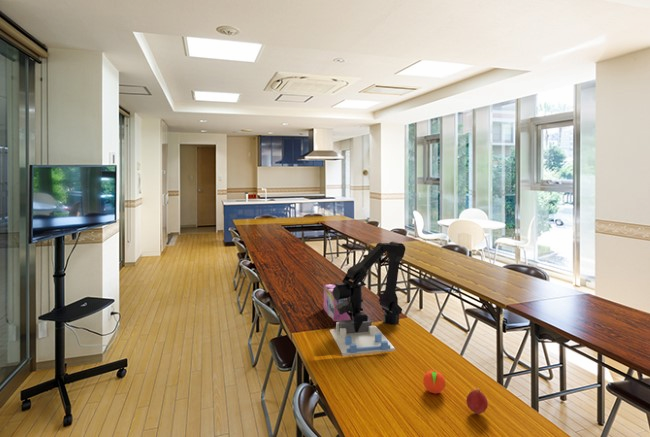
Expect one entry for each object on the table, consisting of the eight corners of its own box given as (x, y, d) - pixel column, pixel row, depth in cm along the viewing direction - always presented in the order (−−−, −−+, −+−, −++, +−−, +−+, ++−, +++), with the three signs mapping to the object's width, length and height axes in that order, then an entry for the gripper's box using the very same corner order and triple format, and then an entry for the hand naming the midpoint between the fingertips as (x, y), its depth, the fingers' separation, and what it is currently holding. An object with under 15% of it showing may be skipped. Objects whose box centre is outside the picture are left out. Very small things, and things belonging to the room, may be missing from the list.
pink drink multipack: (322, 307, 207) (322, 283, 205) (336, 306, 209) (336, 282, 207) (334, 324, 184) (334, 296, 182) (349, 322, 186) (349, 295, 184)
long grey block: (368, 328, 175) (368, 318, 175) (371, 331, 171) (371, 321, 171) (338, 330, 172) (338, 320, 172) (341, 334, 169) (341, 324, 168)
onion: (463, 414, 113) (464, 389, 112) (469, 405, 117) (470, 381, 117) (483, 422, 109) (485, 396, 108) (489, 412, 114) (490, 387, 113)
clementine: (445, 401, 120) (446, 379, 119) (422, 397, 122) (423, 376, 121) (444, 387, 128) (445, 367, 127) (423, 384, 129) (423, 364, 129)
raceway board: (375, 327, 179) (375, 319, 178) (395, 351, 154) (395, 341, 154) (329, 331, 174) (329, 322, 174) (342, 356, 150) (342, 346, 149)
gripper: (333, 291, 178) (333, 323, 179) (342, 304, 159) (342, 340, 161) (356, 289, 180) (356, 321, 182) (368, 302, 162) (368, 337, 163)
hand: (355, 329), depth 172 cm, fingers closed on long grey block, 4 cm apart
